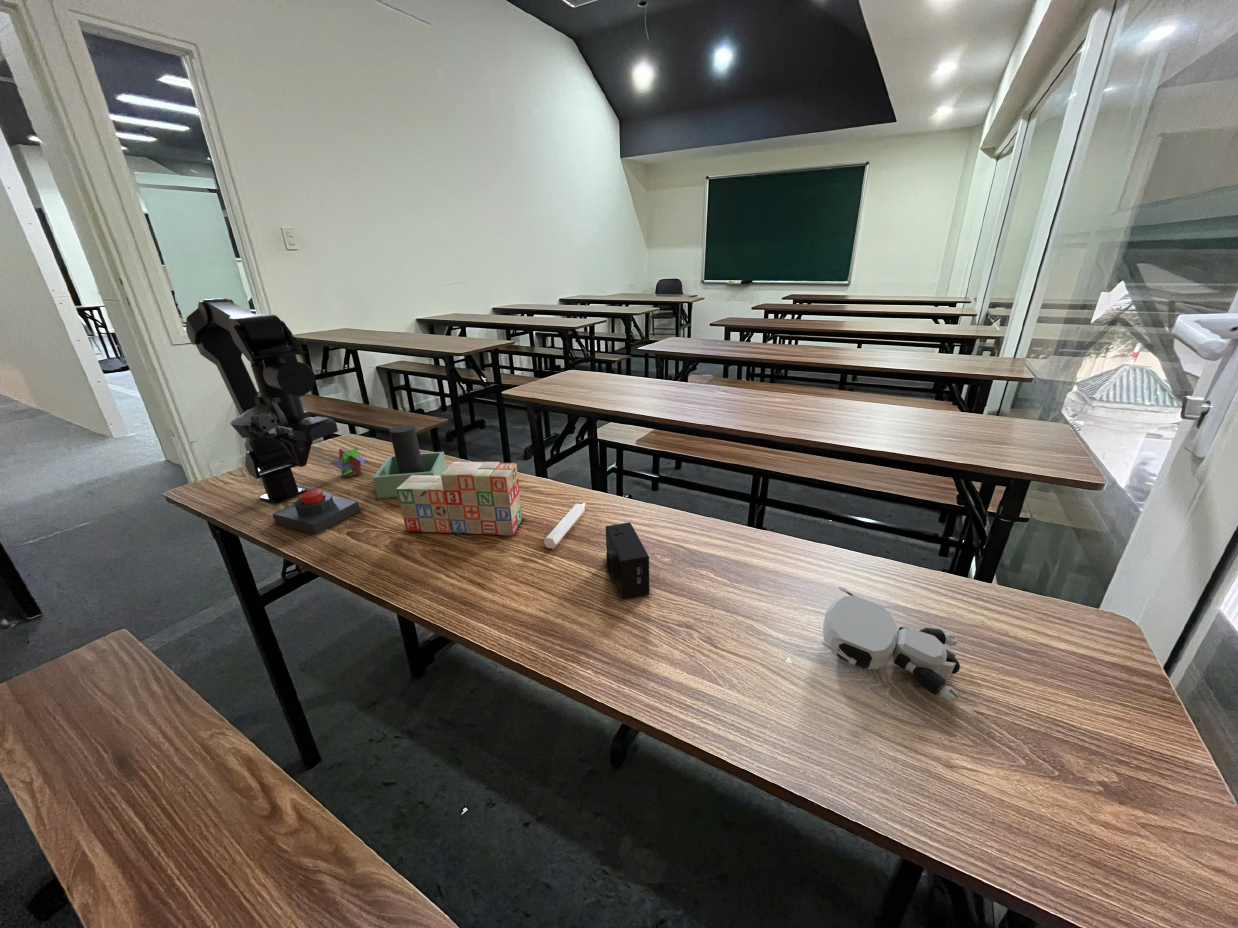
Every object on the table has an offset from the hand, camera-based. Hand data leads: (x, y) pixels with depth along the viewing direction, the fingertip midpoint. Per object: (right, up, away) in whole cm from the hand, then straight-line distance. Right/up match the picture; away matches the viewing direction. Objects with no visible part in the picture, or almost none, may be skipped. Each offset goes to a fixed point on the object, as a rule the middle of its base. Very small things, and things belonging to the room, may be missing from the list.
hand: (302, 466), depth 93 cm
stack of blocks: (+32, -12, 0) cm, 34 cm away
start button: (0, -7, +3) cm, 8 cm away
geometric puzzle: (-4, -2, +24) cm, 24 cm away
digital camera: (+63, -18, -17) cm, 67 cm away
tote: (+14, -4, +18) cm, 23 cm away
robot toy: (+95, -24, -33) cm, 104 cm away
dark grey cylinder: (+14, -4, +18) cm, 23 cm away
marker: (+52, -12, -1) cm, 54 cm away
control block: (0, -10, +5) cm, 11 cm away
